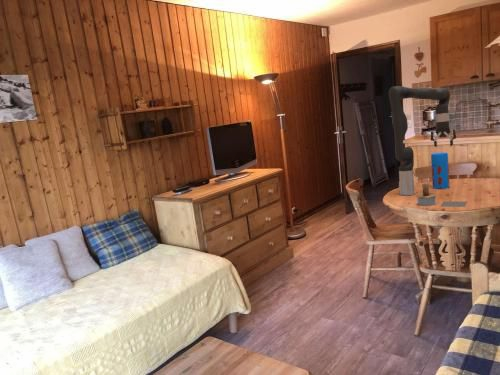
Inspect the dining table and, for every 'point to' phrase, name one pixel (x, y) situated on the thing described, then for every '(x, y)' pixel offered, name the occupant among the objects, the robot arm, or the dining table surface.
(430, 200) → the bowl
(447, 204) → the coaster
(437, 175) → the blue box
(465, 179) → the dining table surface
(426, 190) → the lid
